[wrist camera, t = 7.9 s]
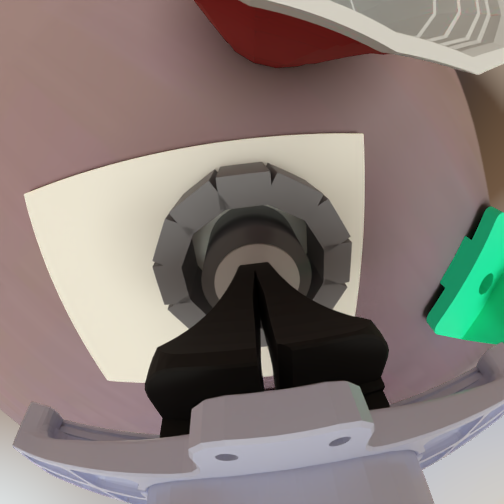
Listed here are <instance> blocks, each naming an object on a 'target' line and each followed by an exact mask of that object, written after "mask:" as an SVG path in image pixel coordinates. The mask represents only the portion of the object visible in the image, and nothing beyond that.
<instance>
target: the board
mask: <svg viewBox="0 0 504 504" xmlns="http://www.w3.org/2000/svg"><path fill="white" fill-rule="evenodd" d="M24 197H25V201H26V205H27V209H28V213H29V216H30V220H31V223H32V226H33V230H34V233H35V236H36V239H37V242H38V245H39V248H40V250H41V253H42V256H43V259H44V261H45V264H46V266H47V269H48V271H49V274H50V276H51V279H52V281H53V283H54V285H55V288H56V290H57V292H58V294H59V297H60V299H61V301H62V303H63V305H64V307H65V309H66V311H67V313H68V315H69V317H70V319H71V321H72V323H73V325H74V326H75V328H76V330H77V332H78V334H79V335H80V337H81V339H82V341H83V342H84V344H85V346H86V348H87V349H88V351H89V353H90V354H91V356H92V357H93V359H94V361H95V362H96V364H97V365H98V367H99V368H100V370H101V371H102V373H103V374H104V376H105V377H106V379H107V380H108V381H120V382H141V383H145V381H146V377H147V374H148V370H149V366H150V363H151V361H152V358H153V356H154V354H155V351H156V349H157V347H159V346H161V345H163V344H165V343H167V342H169V341H170V340H172V339H174V338H176V337H178V336H179V335H181V334H182V333H184V332H185V331H187V330H188V329H190V328H191V327H192V326H194V325H195V324H196V323H197V322H199V321H200V320H201V319H202V318H203V317H204V316H205V315H207V314H208V313H209V312H210V311H211V309H212V308H213V307H212V306H211V305H210V304H209V302H208V301H207V299H206V297H205V295H204V292H203V288H202V282H201V277H202V270H203V265H204V260H205V255H206V251H207V246H208V241H209V237H210V233H211V230H212V228H213V226H214V225H215V223H216V222H217V220H218V219H219V218H220V217H221V216H222V215H223V214H225V213H226V212H227V211H229V210H231V209H236V208H244V207H252V206H261V205H264V206H268V207H270V208H273V209H274V210H276V211H278V212H279V213H280V214H282V215H283V216H284V217H285V218H286V220H287V221H288V222H289V224H290V226H291V228H292V229H293V231H294V233H295V235H296V237H297V239H298V240H299V242H300V244H301V246H302V248H303V250H304V252H305V253H306V255H307V257H308V259H309V262H310V266H311V274H312V278H311V284H310V288H309V291H308V293H307V295H306V297H308V298H310V299H311V300H313V301H315V302H317V303H319V304H321V305H323V306H325V307H328V308H330V309H333V310H335V311H338V312H341V313H344V314H347V315H351V316H355V312H356V305H357V297H358V289H359V280H360V270H361V259H362V246H363V229H364V201H365V163H364V136H363V134H361V133H319V134H296V135H280V136H268V137H257V138H248V139H239V140H231V141H223V142H216V143H209V144H203V145H197V146H191V147H185V148H180V149H175V150H170V151H165V152H160V153H155V154H151V155H146V156H142V157H138V158H134V159H130V160H126V161H122V162H118V163H114V164H110V165H107V166H103V167H100V168H96V169H93V170H90V171H87V172H83V173H80V174H77V175H74V176H71V177H68V178H65V179H62V180H59V181H56V182H54V183H51V184H48V185H46V186H43V187H40V188H38V189H35V190H33V191H30V192H28V193H26V194H24ZM261 366H262V375H263V377H267V376H273V369H272V363H271V358H270V354H269V350H268V346H267V343H266V339H265V335H264V331H263V327H262V324H261Z"/></svg>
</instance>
